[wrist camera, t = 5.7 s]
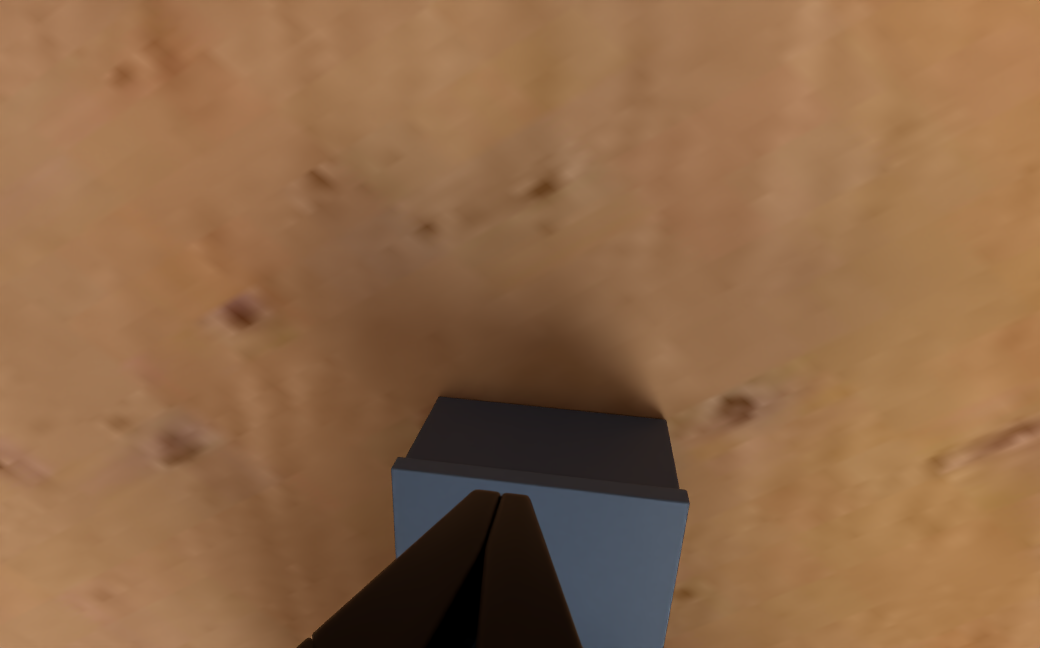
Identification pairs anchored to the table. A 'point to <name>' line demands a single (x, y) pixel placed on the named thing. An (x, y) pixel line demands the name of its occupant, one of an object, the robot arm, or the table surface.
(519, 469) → the storage box
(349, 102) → the table surface
